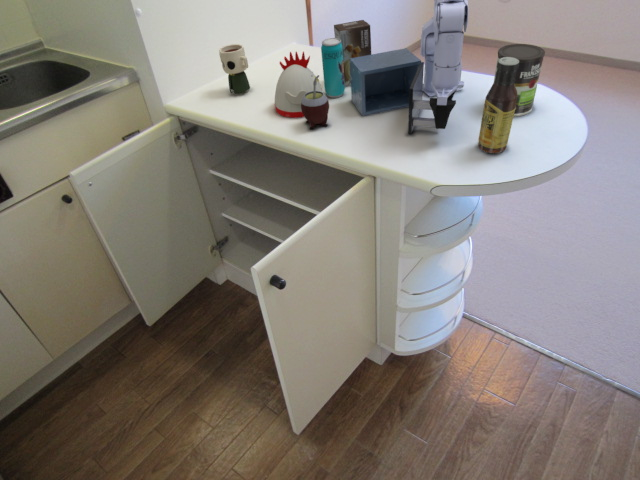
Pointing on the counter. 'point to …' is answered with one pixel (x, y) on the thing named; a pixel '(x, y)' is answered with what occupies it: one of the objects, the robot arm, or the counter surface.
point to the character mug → (235, 67)
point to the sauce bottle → (499, 108)
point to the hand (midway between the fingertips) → (442, 120)
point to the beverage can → (333, 67)
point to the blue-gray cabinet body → (382, 80)
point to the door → (418, 103)
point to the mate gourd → (315, 107)
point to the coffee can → (524, 73)
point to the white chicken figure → (294, 86)
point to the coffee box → (353, 43)
